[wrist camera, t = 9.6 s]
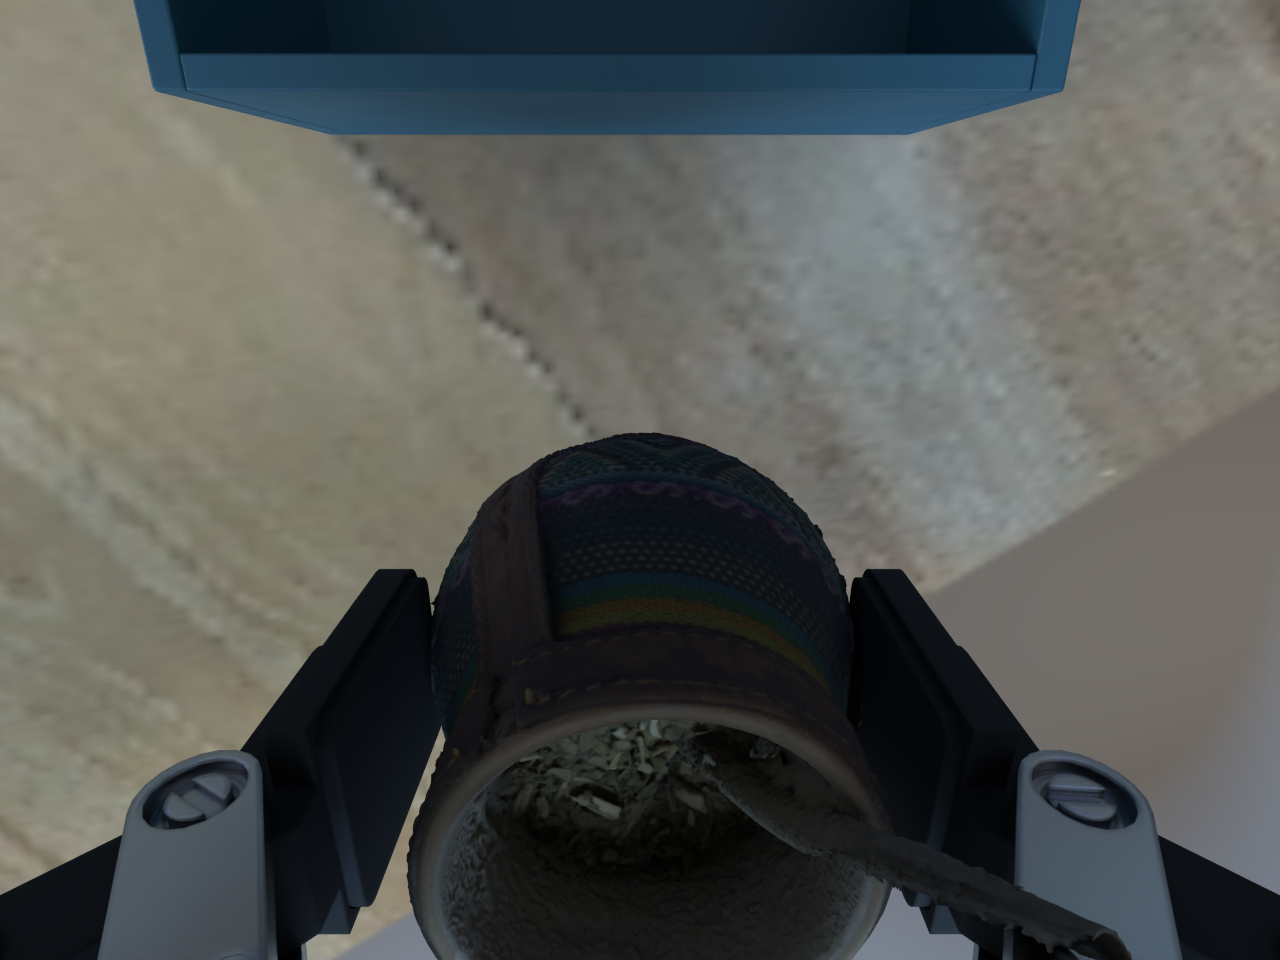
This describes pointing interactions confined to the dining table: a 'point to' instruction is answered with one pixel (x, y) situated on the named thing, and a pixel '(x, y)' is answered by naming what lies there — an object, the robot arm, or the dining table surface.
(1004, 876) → the robot arm
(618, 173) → the dining table surface
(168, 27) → the blue open rectangular box
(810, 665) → the mate gourd
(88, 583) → the dining table surface
